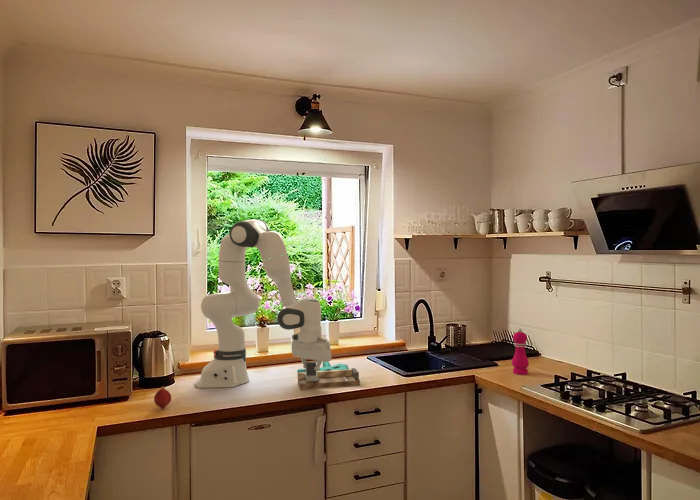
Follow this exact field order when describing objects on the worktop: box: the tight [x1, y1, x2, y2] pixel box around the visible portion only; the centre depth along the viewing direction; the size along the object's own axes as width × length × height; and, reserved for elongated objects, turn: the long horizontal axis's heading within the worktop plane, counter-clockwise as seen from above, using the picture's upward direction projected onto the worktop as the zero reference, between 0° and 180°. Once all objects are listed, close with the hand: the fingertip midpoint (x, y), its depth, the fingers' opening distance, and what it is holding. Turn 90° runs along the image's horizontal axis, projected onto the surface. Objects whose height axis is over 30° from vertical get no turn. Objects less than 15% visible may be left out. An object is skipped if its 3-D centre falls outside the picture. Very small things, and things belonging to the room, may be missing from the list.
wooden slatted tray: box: [297, 367, 361, 390], centre depth 219 cm, size 25×10×5 cm, turn 101°
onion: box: [153, 386, 172, 409], centre depth 190 cm, size 6×6×8 cm
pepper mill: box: [511, 327, 530, 376], centre depth 232 cm, size 7×7×20 cm
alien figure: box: [296, 361, 350, 374], centre depth 239 cm, size 20×2×20 cm
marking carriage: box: [304, 360, 319, 382], centre depth 218 cm, size 6×6×7 cm
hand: (311, 369), depth 218 cm, fingers open, 5 cm apart
